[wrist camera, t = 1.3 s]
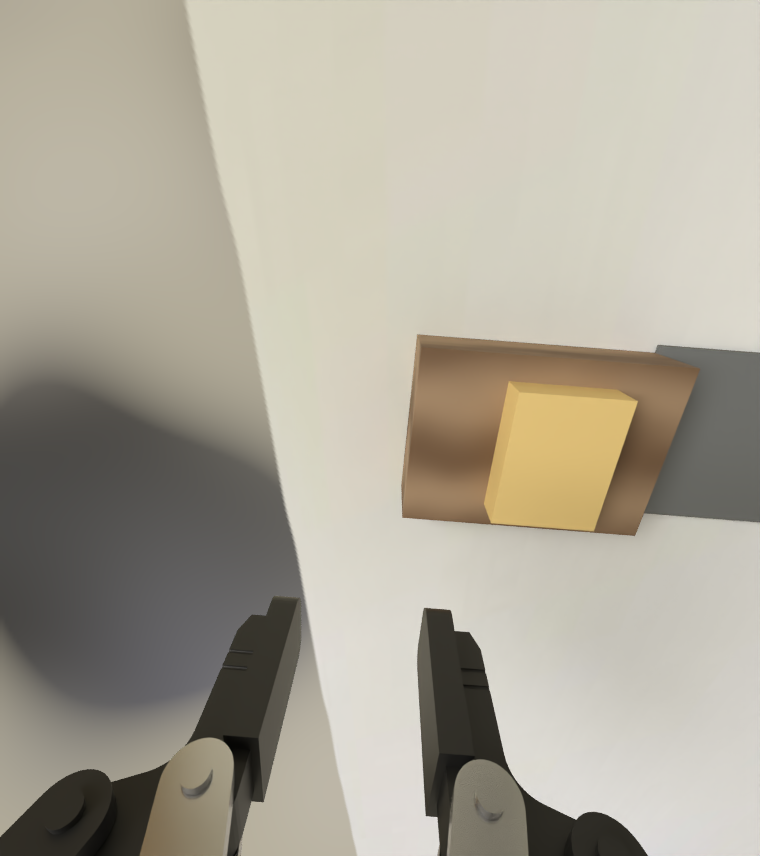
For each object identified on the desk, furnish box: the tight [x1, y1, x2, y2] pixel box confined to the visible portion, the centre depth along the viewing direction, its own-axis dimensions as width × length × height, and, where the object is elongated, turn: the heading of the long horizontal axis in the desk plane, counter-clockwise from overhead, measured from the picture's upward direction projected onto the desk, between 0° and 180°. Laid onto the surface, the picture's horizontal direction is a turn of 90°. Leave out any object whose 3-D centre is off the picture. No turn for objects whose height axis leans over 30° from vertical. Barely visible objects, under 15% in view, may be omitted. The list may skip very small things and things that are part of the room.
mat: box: [644, 345, 760, 522], centre depth 27 cm, size 12×12×1 cm
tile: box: [484, 381, 638, 531], centre depth 22 cm, size 8×6×2 cm
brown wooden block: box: [401, 335, 700, 536], centre depth 25 cm, size 11×15×4 cm
